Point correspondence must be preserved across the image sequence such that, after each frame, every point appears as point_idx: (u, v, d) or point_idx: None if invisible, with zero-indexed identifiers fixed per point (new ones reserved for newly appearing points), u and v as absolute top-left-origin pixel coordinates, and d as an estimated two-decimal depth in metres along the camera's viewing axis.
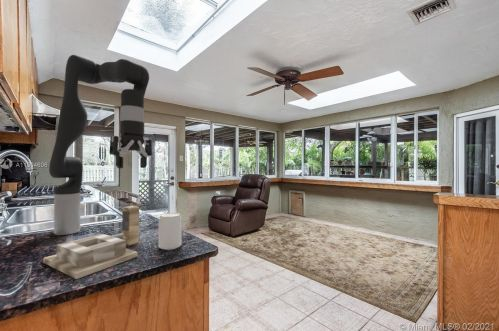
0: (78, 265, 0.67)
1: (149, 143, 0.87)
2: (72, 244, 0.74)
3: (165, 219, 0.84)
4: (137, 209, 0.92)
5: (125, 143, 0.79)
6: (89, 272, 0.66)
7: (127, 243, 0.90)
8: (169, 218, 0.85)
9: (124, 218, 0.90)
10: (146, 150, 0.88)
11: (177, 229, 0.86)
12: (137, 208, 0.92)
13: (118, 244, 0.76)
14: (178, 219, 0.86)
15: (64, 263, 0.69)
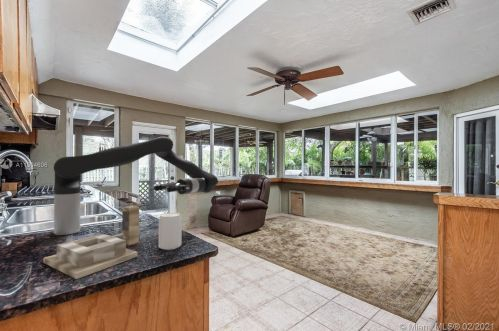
0: (78, 265, 0.67)
1: None
2: (72, 244, 0.74)
3: (165, 219, 0.84)
4: (137, 209, 0.92)
5: None
6: (89, 272, 0.66)
7: (127, 243, 0.90)
8: (169, 218, 0.85)
9: (124, 218, 0.90)
10: (163, 185, 1.12)
11: (177, 229, 0.86)
12: (137, 208, 0.92)
13: (118, 244, 0.76)
14: (178, 219, 0.86)
15: (64, 263, 0.69)
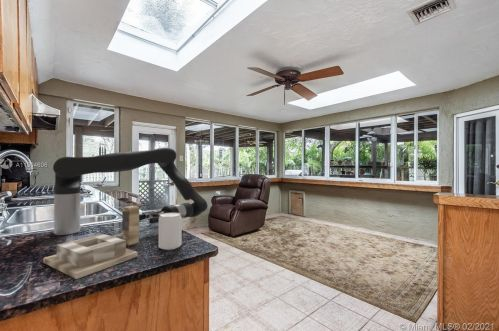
0: (78, 265, 0.67)
1: (151, 216, 1.07)
2: (72, 244, 0.74)
3: (165, 219, 0.84)
4: (137, 209, 0.92)
5: None
6: (89, 272, 0.66)
7: (127, 243, 0.90)
8: (169, 218, 0.85)
9: (124, 218, 0.90)
10: None
11: (177, 229, 0.86)
12: (137, 208, 0.92)
13: (118, 244, 0.76)
14: (178, 219, 0.86)
15: (64, 263, 0.69)
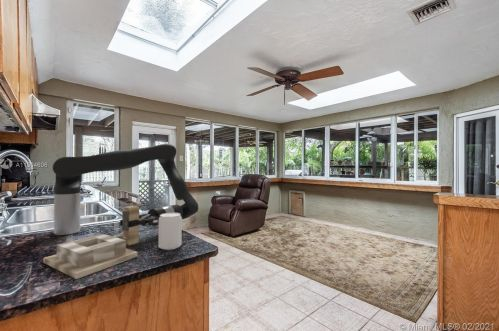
0: (78, 265, 0.67)
1: None
2: (72, 244, 0.74)
3: (165, 219, 0.84)
4: (137, 209, 0.92)
5: (148, 222, 0.95)
6: (89, 272, 0.66)
7: (127, 243, 0.90)
8: (169, 218, 0.85)
9: (124, 218, 0.89)
10: None
11: (177, 229, 0.86)
12: (137, 208, 0.92)
13: (118, 244, 0.76)
14: (178, 219, 0.86)
15: (64, 263, 0.69)
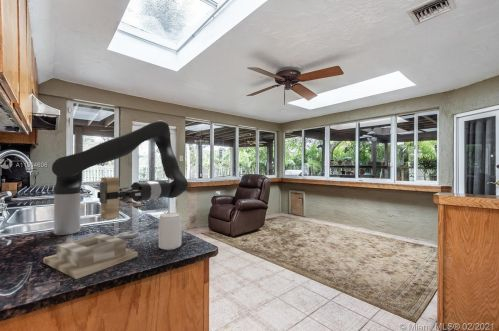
0: (78, 265, 0.67)
1: None
2: (72, 244, 0.74)
3: (165, 219, 0.84)
4: (117, 180, 0.82)
5: (130, 196, 0.86)
6: (89, 272, 0.66)
7: (105, 217, 0.80)
8: (169, 218, 0.85)
9: (102, 189, 0.80)
10: None
11: (177, 229, 0.86)
12: (117, 179, 0.82)
13: (118, 244, 0.76)
14: (178, 219, 0.86)
15: (64, 263, 0.69)
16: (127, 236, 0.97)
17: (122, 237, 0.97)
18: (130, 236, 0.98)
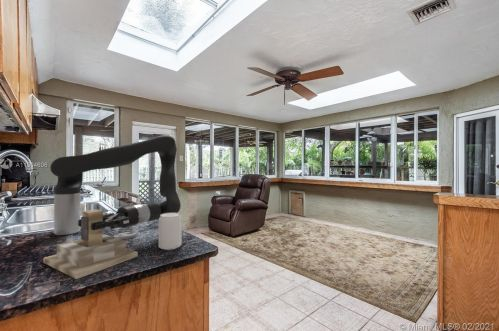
0: (78, 265, 0.67)
1: None
2: (72, 244, 0.74)
3: (165, 219, 0.84)
4: (100, 214, 0.76)
5: (116, 223, 0.80)
6: (89, 272, 0.66)
7: None
8: (169, 218, 0.85)
9: (83, 225, 0.74)
10: None
11: (177, 229, 0.86)
12: (100, 213, 0.76)
13: (118, 244, 0.76)
14: (178, 219, 0.86)
15: (64, 263, 0.69)
16: (126, 237, 0.97)
17: (121, 238, 0.96)
18: (129, 237, 0.97)
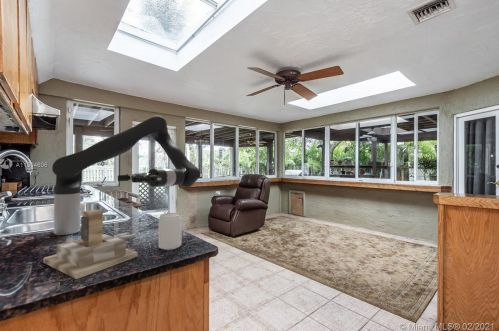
0: (78, 265, 0.67)
1: None
2: (72, 244, 0.74)
3: (165, 219, 0.84)
4: (100, 214, 0.76)
5: None
6: (89, 272, 0.66)
7: None
8: (169, 218, 0.85)
9: (83, 225, 0.74)
10: (131, 175, 0.94)
11: (177, 229, 0.86)
12: (100, 213, 0.76)
13: (118, 244, 0.76)
14: (178, 219, 0.86)
15: (64, 263, 0.69)
16: (125, 237, 0.96)
17: (120, 238, 0.95)
18: (128, 237, 0.96)
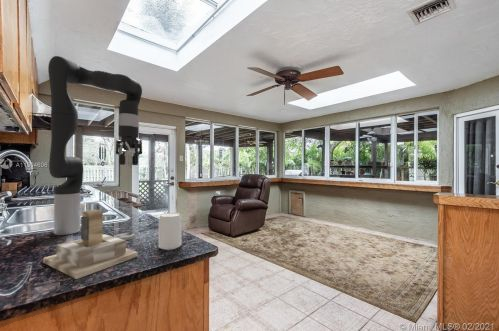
0: (78, 265, 0.67)
1: None
2: (72, 244, 0.74)
3: (165, 219, 0.84)
4: (100, 214, 0.76)
5: (135, 145, 0.98)
6: (89, 272, 0.66)
7: None
8: (169, 218, 0.85)
9: (83, 225, 0.74)
10: None
11: (177, 229, 0.86)
12: (100, 213, 0.76)
13: (118, 244, 0.76)
14: (178, 219, 0.86)
15: (64, 263, 0.69)
16: (124, 238, 0.95)
17: None
18: (127, 238, 0.95)
